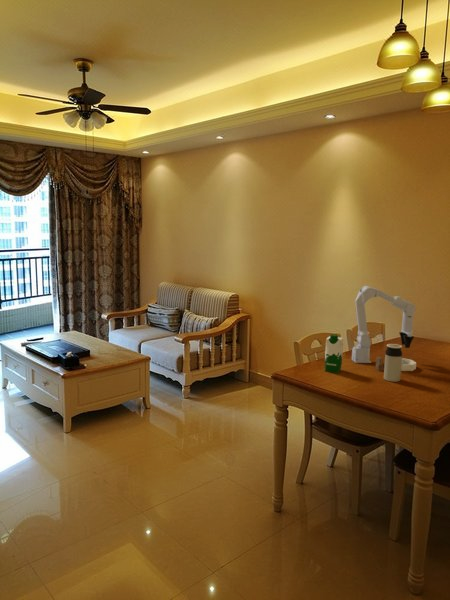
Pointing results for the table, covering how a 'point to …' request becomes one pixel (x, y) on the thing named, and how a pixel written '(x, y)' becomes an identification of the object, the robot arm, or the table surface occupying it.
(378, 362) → the wick
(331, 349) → the milk carton
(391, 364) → the travel mug
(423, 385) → the table surface
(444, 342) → the table surface
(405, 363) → the white low round dish
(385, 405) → the table surface
